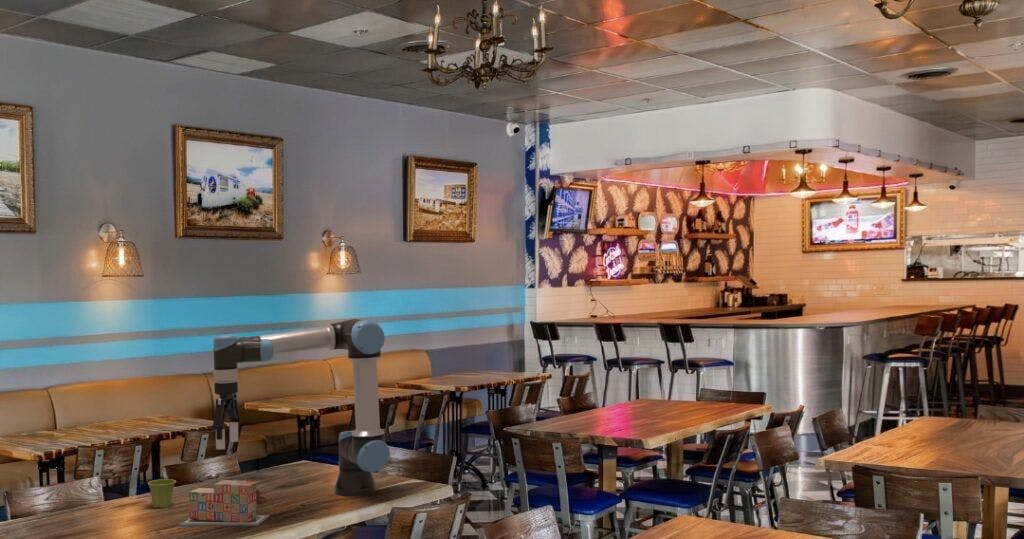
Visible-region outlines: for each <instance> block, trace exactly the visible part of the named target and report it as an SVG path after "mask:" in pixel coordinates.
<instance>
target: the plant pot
mask: <svg viewBox="0 0 1024 539" xmlns="http://www.w3.org/2000/svg"><path fill="white" fill-rule="evenodd" d="M176 483H177V480H175V479H173V478H172V479H171V478H170V479H169V478H168V479H167V478H165V479H164V478H161V479H160V478H159V479H155V480H150V481H148V482H147V485H148V487H149V489H150V496H151V503H152V507H153V508H154V509H155V508H156V509H157V508H161V509H162V508H168V507H170V506H172V502H173V501H172V499H173V495H174V494H173V492H174V487H175V484H176Z"/></svg>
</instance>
